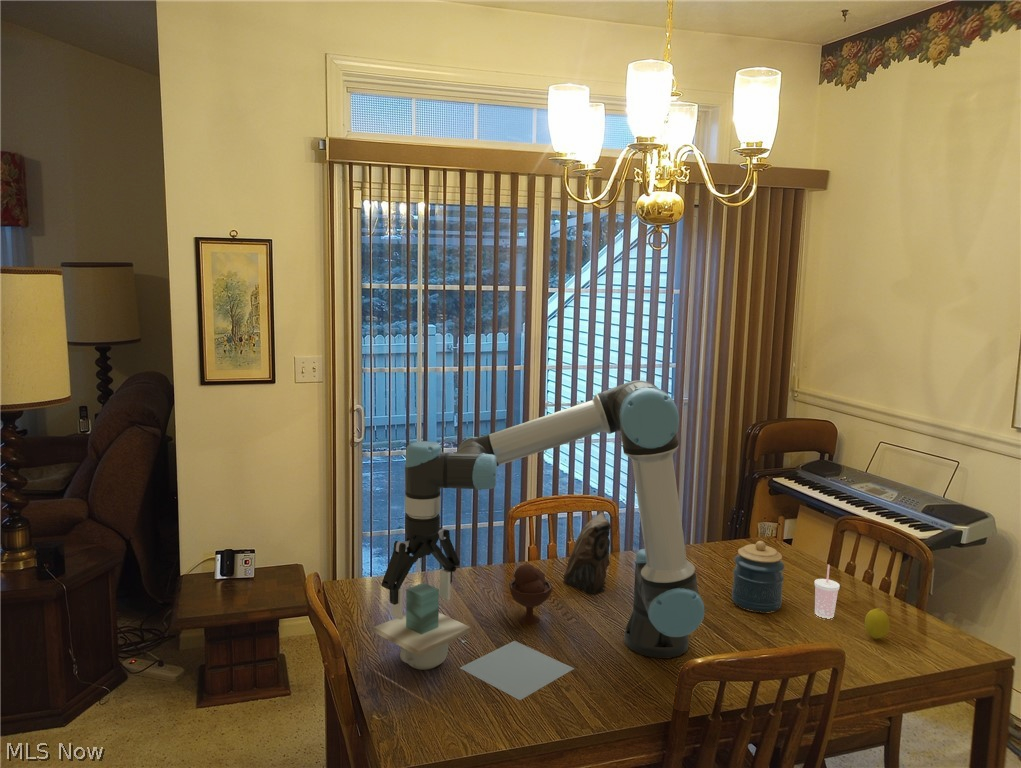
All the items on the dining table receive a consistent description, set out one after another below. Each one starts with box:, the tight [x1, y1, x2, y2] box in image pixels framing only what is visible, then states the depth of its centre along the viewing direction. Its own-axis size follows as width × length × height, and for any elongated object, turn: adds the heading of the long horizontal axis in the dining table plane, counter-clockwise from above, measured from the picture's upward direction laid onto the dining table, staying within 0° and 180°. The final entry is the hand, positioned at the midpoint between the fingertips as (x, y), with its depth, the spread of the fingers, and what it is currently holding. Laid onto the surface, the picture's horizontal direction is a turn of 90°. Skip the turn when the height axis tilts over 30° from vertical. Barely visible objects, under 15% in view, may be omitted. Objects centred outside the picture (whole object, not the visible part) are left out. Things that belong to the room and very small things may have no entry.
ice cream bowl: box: [508, 563, 553, 625], centre depth 191 cm, size 11×11×15 cm
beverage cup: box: [814, 564, 840, 619], centre depth 198 cm, size 6×6×14 cm
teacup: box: [399, 642, 450, 670], centre depth 168 cm, size 14×11×8 cm
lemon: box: [864, 607, 891, 640], centre depth 186 cm, size 6×6×8 cm
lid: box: [373, 582, 471, 656], centre depth 167 cm, size 15×15×10 cm
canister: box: [731, 540, 786, 612], centre depth 204 cm, size 13×13×18 cm
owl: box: [562, 511, 612, 596], centre depth 213 cm, size 13×13×20 cm
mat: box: [459, 640, 575, 701], centre depth 168 cm, size 18×18×1 cm
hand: (421, 607), depth 166 cm, fingers open, 13 cm apart
